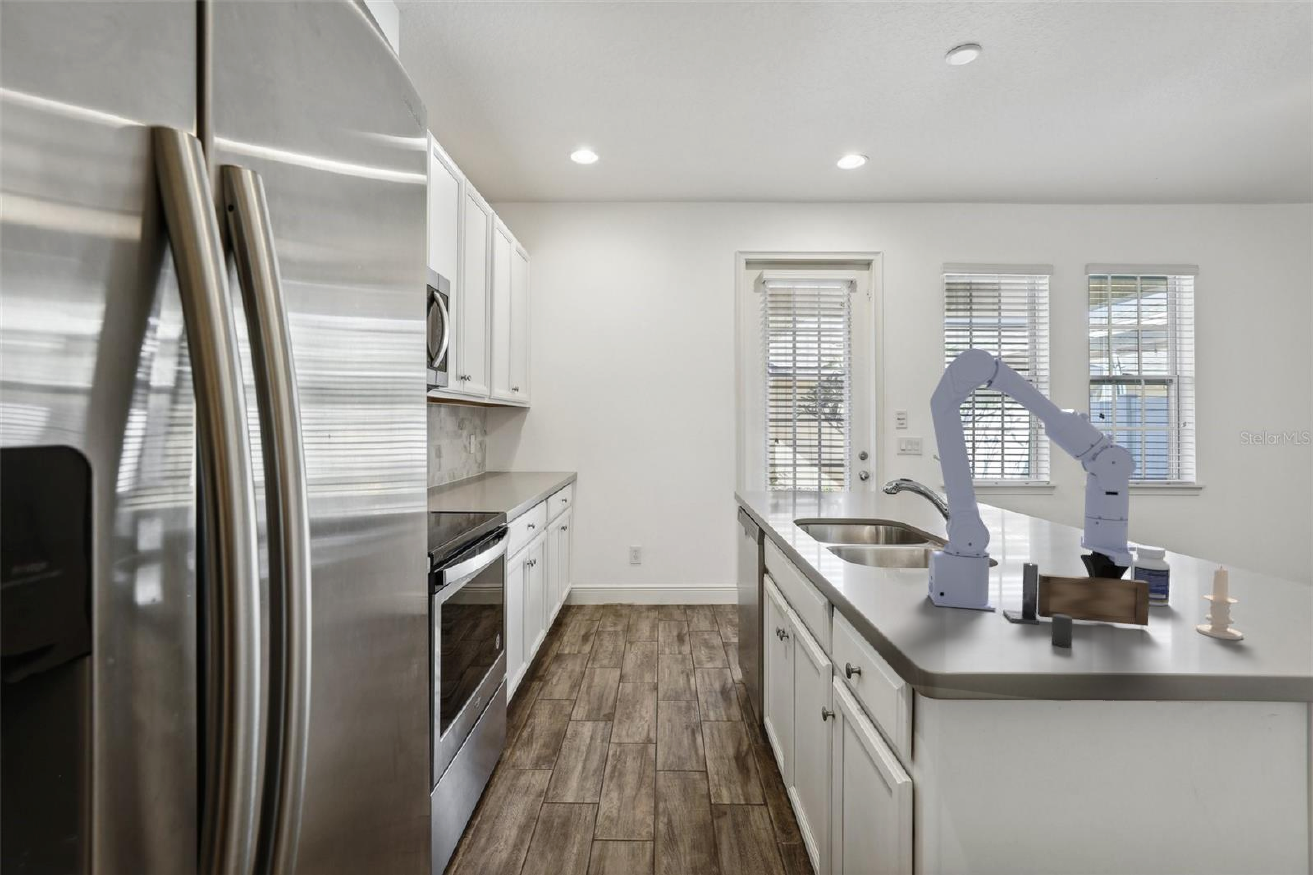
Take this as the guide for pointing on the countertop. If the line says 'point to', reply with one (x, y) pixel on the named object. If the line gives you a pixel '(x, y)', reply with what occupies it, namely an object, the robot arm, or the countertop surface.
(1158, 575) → the pill bottle
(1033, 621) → the gate post
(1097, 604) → the gate
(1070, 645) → the block
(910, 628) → the countertop surface
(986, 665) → the countertop surface
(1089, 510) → the robot arm
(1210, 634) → the candle
